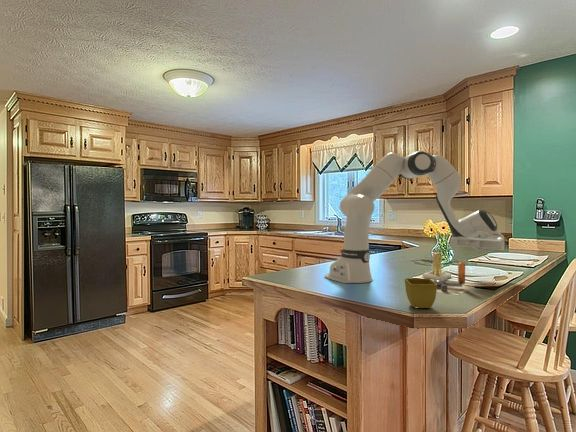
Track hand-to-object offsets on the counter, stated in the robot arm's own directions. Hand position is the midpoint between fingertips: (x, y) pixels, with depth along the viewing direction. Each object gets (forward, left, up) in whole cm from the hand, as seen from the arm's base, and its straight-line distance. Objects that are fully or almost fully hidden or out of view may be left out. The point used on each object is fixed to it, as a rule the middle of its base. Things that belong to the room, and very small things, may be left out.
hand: (469, 244), depth 146 cm
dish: (-17, +7, -18) cm, 25 cm away
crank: (-5, -9, -16) cm, 19 cm away
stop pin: (-17, +7, -17) cm, 25 cm away
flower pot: (-2, -38, -18) cm, 42 cm away
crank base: (-7, -9, -18) cm, 21 cm away
